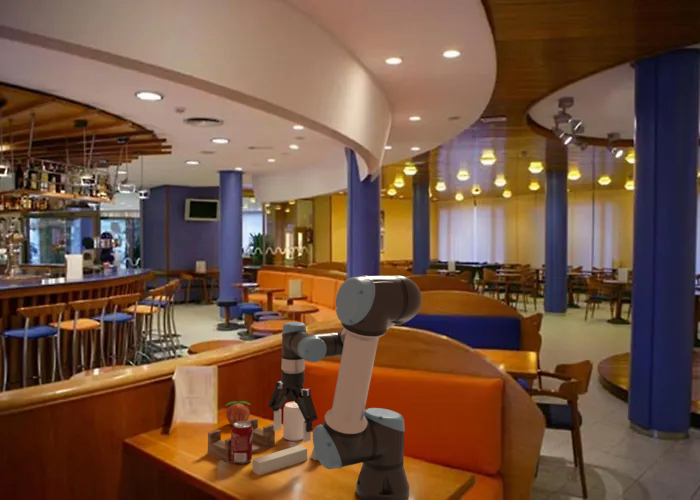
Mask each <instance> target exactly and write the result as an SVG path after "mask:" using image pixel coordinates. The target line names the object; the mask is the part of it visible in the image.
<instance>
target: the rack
mask: <svg viewBox="0 0 700 500" xmlns="http://www.w3.org/2000/svg"><path fill="white" fill-rule="evenodd" d="M247 421H248V422H250V423H251V427H252V428H253V440H252V455H253V454H256V453H258V451H259V452H261V451H263V450H267V449H268V448H272V447H274V446H276V440H275V439H276V431H274V423H273V424H268V425H265V426H263V427H262V428H260V427H259V426H258V424H259V422H258V421H259V419H258V418H255V417H254V418H251V419H248V420H247ZM221 432H222V430H220V429H215V430H213V431H209V432H208V433H207V452H206V453H207V454H208V455H210V456H212V457H215V458H216V459H218V460H221V461H223V462H225V463H227V464H229V463H231V462H232V461H231V460H230V453H231V437H229V438H226V439H224V440H222V438H221V437H222V433H221ZM266 448H267V449H266ZM232 463H233V462H232Z"/></svg>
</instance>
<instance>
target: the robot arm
mask: <svg viewBox="0 0 700 500" xmlns="http://www.w3.org/2000/svg"><path fill="white" fill-rule="evenodd" d="M422 302H423V296H422V292H421V289H420V288H419V286H418V285H417V283H416V282H414V281H413V280H412V279H410V278H409V277H407V276H404V275H398V274H397V275H396V274H395V275H360V276H353V277H352V276H351V277H349V278H347V279H346V280H345V281H344V282H342V283H341V285H340V287H339V289H338V291H337V293H336V297H335V302H334V303H335V308H336V310H335V313H336V316H337V318H338V320H339V321H340V322H341V323H340V324H341V327H342V328H343V329H342V330H340V331H334V332H331V331H330V332H323V333H322V332H320V333H308V332H307V327H306V323H304V322H300V321H288V322H285V323H283V325H282V333H281V367H280V369H281V370H282V371H281V374H280V375H281V377H280V381H276V382H275V386H274V389H273V392H272V394H271V395H272V396H271V397H270V400H269V402H268V405H267V406H268V407H269V408H271V410H272V420H273V425H274V431H275V432H277V431H280V430H282V409H281V407H282V406H283V405H284V404H285V402H286V401H287V400H291V401H292V402H295V403H297V405H298V407H299V409H300V411H301V413H302V415H303V417H304V419H305V421H304V422H303V439H302V443H307V442H309V441H312V444H313V449H315V452H316V455H317V457H318V459H319V463H320V464H321V465H322V467H324V468H325V469H327V470H334V469H335V470H336V469H342V468H346V467H349V466H353V465H357V464H361V463H362V465H361V468H360V471H359V474H358V477H357V480H356V484H355V492H356V495H357V496H358V497H359V498H360V499H361V500H406V499H408V498H409V495H410V484H409V481H408V477H407V473H406V469H405V465H404V462H405V461H404V457H405V455H404V454H405V432H406V429H405V420H404V416H403V415H402V414H401V413H399V412H396V411H394V410H390V409H387V408H382V407H381V408H380V407H379V408H378V407H370V408H366V406H367V405H366V404H367V400H368V394H369V390H370V384H371V380H372V373H373V369H374V363H375V359H376V353H377V350H378V344H379V340H380V338H381V337H383V336H385V334H387V331H388V330H389V329H391V328H392V327H394V326H395V325H398V326H399V325H404V324H405V323H408V322H409V321H410V320H412V319H413V318H414V317H416V315H418V313H419V312H420V310H421V307H422V305H423V303H422ZM332 357H333V358H334V357H340V363H339V369H338V374H337V380H336V386H335V390H334V397H333V402H332V408H331V409H328V410H327V411H326V413H325V414H324V420H323V423H322V424H318V425H316V426H314V428H313V422H315V421H317V420H319V419H318V415H317V412H316V408H315V405H314V402H313V398H312V392H311V391H312V390H311V388H304V383H305V381H306V379H305V377H306V375H305V373H306V371H305V368H306V361H307V362H311V363H318V362H319V361H321V360H322V359H324V358H332ZM311 434H312V436H311ZM311 437H312V439H311Z"/></svg>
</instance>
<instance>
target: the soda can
mask: <svg viewBox="0 0 700 500" xmlns="http://www.w3.org/2000/svg"><path fill="white" fill-rule="evenodd" d="M232 426H233V425H232ZM230 438H231V453H230V460H231V461H232V463H234V464H237V465H244V463H245V464H247V463H248V462H251V461H252V460H253V454H252V440H253V428H252V427H251V423H250V422H248V420H247V421H238V422H235V423H234V426H233V427H232V428H231V435H230Z"/></svg>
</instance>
